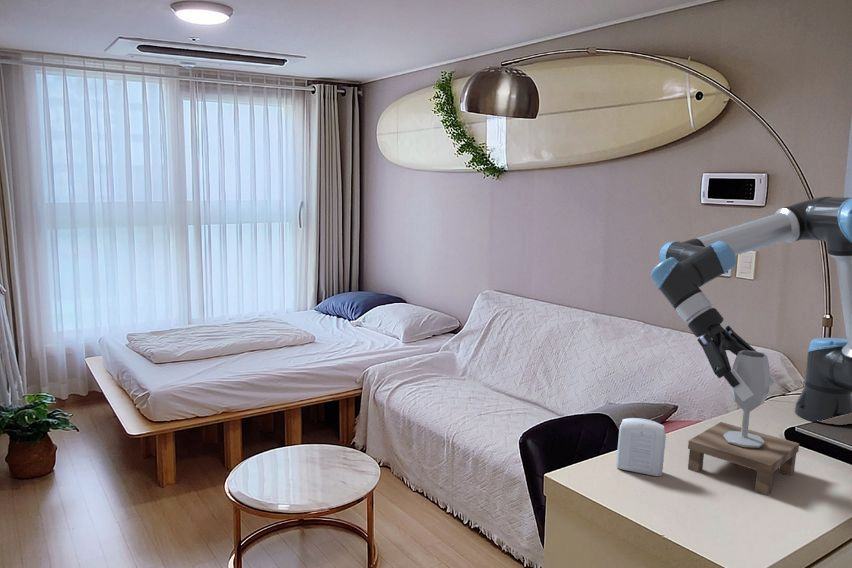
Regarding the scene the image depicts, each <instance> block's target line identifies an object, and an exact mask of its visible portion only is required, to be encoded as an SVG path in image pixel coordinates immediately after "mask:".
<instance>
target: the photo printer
mask: <svg viewBox="0 0 852 568" xmlns="http://www.w3.org/2000/svg"><path fill="white" fill-rule="evenodd" d="M666 434H667V433H666V430H665V426H664V425H663V424H661V423H659V422H658V421H654V420H651V419H646V418H640V417H639V418H638V417H637V418H636V417H629V418H623V419H622V421H621V424H620V425H619V431H618V440H617V441H618V442H617V451H616V453H617V454H616V461H615V462H616V464H615V465H616V466H615V467H616V468H617V469H620V470H623V471H629V472H633V473H634V472H635V473H638V474H644V475H650V476H654V477H655V476H656V477H660V476H662V475H663V469H664V468H663V467H664V462H665V461H664V459H665V448H666V438H667V435H666Z"/></svg>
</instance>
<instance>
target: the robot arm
mask: <svg viewBox="0 0 852 568" xmlns="http://www.w3.org/2000/svg"><path fill="white" fill-rule="evenodd" d="M804 240H805V241H808V240H809V241H810V240H811V241H822V242H825V243H826V251H827V254H828V256H830V257H831V258H833V259H834V260H835V264H836V271H837V278H838V285H839V293H840V294H839V295H840V300H841V307H842V314H843V321H844V328H845V335H846V338H843V337H842V338H840V337H839V338H838V337H816V338H813V339H812V340H811V341H810V342H809V347H808V350H807V359H806V367H805V368H806V371H805V380H804V387H803V389H802V390H801V393H800V394H799V397H798V398H797V401H796V403H795V406H794V413H795V414H796V415H797V416H798V417H801V418H802V419H805V420H808V421H811V422H813V421H817V420H822V419H826V418H830V417H835V416H839V415H844V414H849V413H852V197H843V196H842V197H840V196H834V197H833V196H820V197H815V198H814V197H813V198H811V199H807V200H803V201H800V202H797V203H794V204H790V205H788V206H784V207H781V208H779V209H777V210H776V211H775V212H774V214H772V215H771V214H770V215H768V216H765V217H760V218H758V219H754V220H751V221H748V222H745V223H742V224H739V225H735V226H732V227H728V228H725V229H722V230H719V231H715V232H712V233H707V234H706V235H705V234H704V235H701V236H698V237H695V238H692V239H687V240H684V241H681V242H680V241H676V240H675V241H668V242H666V243H665V244H663V246H661V249H660V251H659V261H660V262H659V263H658V264H656V265H655V266H654V268H652V269H651V272H650V278H651V279H652V281H653V283H654V285H655V286H656V288H657V289H658V291H660V292H661V294H662V295H663V296H664V297H665V299H666V300H667V301H668V303H669V304H670V305H671V306H672V307H673V309H674V310H675V311H676V312H677V314H678V315H677V316H678V317H679V318H681V320H682V321H684V323H686V324H687V325H688V326H687V327H688V329H689V330H690V331H691V332H692V334H693V335H694V336H695V337H696V338H697V342H698V343H699V344H700V346H701V347H702V350H703V352H704V353H705V356H706V358H707V360H708V363H709V365H710V367H711V369H712V371H713V373H714V375H715V376H717V378H718V379H721V378H724V380H726V382H727V383H728V384H729V387H730V386H731V387H732V388H733V390H734V391H735V392H736V394H737V395H738V396H739V397H740V399H741V400H742V401H744V400H746V399H748V398H749V397H751V396H752V395H754V394H753V393H752V392H751V390H750V389H749V388H748V386H747V385H746V384H745V383H744V381H743V380H742V379H741V377H740V376H739V375H738V374H737V372H736V371H735V370H733V371H732V366H731V364H730V361H729V357H728V354H727V351H729V352H731V353H732V354H734V355H735V356H737V354H738V352H740V351H742V350H746V351H756V352H758V351H757V350H756V349H754V348H753V347H752V346H751V345H750V344H749V343H748V342H747V341H745V339H743V338H742V337H741V336H739V334H738V333H736V332H735V330H733V329H732V327H731V326H730V325H727V326H725V327H723V326H722V325H721V324H722V323H723V322H724V317H723V316H722V314H721V313H720V312H719V311H718V310H717V308H715V307H713V303H712V301H711V300H710V299H709V298H708V296H706V294H705V293H704V292H703V290H701V287H702V286H704V285H705V284H708V283H709V282H711V281H713V280H714V279H716V278H719V277H720V276H722V275H725V274H726V273H727V272H728V271H729V270H731V269H733V268H734V267H736V264H737V257H736V256H738V255H741V254H745V253H748V252H752V251H755V250H759V249H761V248H764V247H769V246H771V245H772V246H773V245H775V244H778V243H782V242H785V243H787V244H788V243H789V244H791V243H795V242H797V241H798V242H799V241H804ZM775 383H777V381H776V380H775V379H774V378H773V376H772V375H771V374H770V385H769V387H771V386H772V385H774V384H775Z"/></svg>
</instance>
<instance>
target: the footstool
mask: <svg viewBox="0 0 852 568" xmlns="http://www.w3.org/2000/svg"><path fill="white" fill-rule="evenodd" d="M741 429H742V426H736V425H733V424H729V423H727V422H723V421H720V422H718V423H716V424H715V425H713V426H711V427H709V428H708V429H706V430H704V431H703V432H701V433H699V434H698V435H696V436H694V437H692V438H690V439H689V440H688V443H687V449H688V450H689V452H688V453H689V454H688V464H687V469H688V470H690V471H692V472H695V473H699V472H701V471H702V470H703V469H704V456H705V455H706V456H710V457H713V458H717V459H719V460H724V461H726V462H730V463H732V464H735V465H739V466H742V467H745V468H748V469H751V470H754V471H756V480H755V486H754V487H755V489H754V492H756V493H758V494H762V495H764V496H768V495H769V494H770V493H771V491H772V483H773V476H774V475H773V474H774V473H773V472H775V471H776V470H778V469H779V473H782V474H787V475H789V476H791V475H792V474H793V473H795V466H796V460H797V454H798V452H799V448H800V443H798V442H795V441H791V440H788V439H785V438H781V437H777V436H773V435H769V434H767V433H763V432H758V431H755V430H752V429H748V433H750V434H754V435H758V436H760V437H761V438H762V439H763V440H764V442H765V444H764V445H763V446H761V447H760V448H746V447H740V446H737V445H734V444H730V443H728V442H727V441H726V440H725V438H724V437H723V435H724V434H725V433H727V432H729V431H739V432H741Z"/></svg>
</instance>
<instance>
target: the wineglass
mask: <svg viewBox="0 0 852 568" xmlns="http://www.w3.org/2000/svg"><path fill="white" fill-rule="evenodd" d="M756 351H757V350H756ZM756 351H746V350H742V351H740V352H738V354H737V356H736V355H735V356H736V357H735V358H734V362H733V366H732V367H731V371H733V370H735V371H736V372H737V374H738V375H739V376H740V377H741V379H742V380H743V381H744V383H745V384H746V385H747V386H748V388H749V389H750V390H751V392H752V393H753V394H754V395H752V396H751V397H749V398H748V399H746V400H744V401H742V400H741V399H740V397H739V396H738V395H737V394H736V392H735V391H734V390H733V388H732V387H731V386H730V385H729V390H730V395H731V396H730V397H731V399H732V400H733V401H734V402H735V403H736V404H737V405H738V407H740V409H741V410H742V411H743V413H742V421H741V423H742V424H741V428H742V429H741V432H739V431H729V432H727V433H725V434H724V435H723V437H724V438H725V440H726V441H727V442H728V443H730V444H734V445H737V446H740V447H746V448H760V447H761V446H763V445H764V444H765V442H764V440H763V439H762V438H761V437H760V436H758V435H754V434H750V433H748V430H749V425H750V414H751V412H752V411H753V410H755V409H757V408H759V406H761V405H763V404H764V403H765V402H766V399H767V397H768V394H769V392H770V386H769V385H770V375H771V374H770V363H769V358H768V355H767V354H765V353H764V352H760V351H757V352H756Z"/></svg>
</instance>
